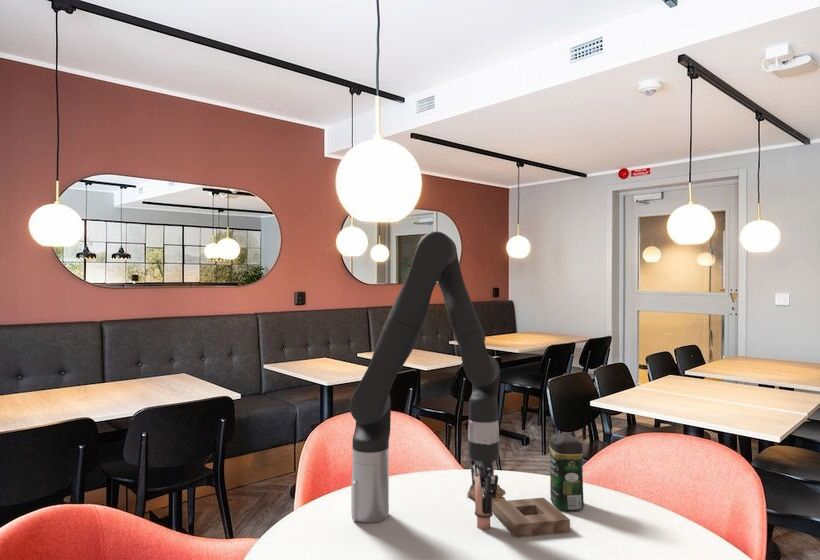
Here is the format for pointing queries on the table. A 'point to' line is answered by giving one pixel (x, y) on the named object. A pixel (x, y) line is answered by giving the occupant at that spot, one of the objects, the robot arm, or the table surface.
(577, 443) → the coffee jar
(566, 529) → the walnut board
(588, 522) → the table surface
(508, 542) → the table surface
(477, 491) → the terracotta leg
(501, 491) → the wooden fragment
